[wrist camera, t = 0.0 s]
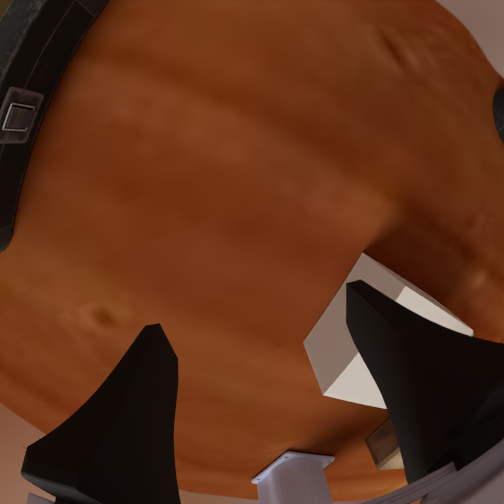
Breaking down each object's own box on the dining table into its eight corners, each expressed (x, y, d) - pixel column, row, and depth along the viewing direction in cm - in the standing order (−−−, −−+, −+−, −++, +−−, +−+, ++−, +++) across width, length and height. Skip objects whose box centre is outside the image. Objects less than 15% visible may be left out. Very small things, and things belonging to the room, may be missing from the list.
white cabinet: (380, 369, 26) (407, 412, 19) (302, 342, 24) (322, 394, 17) (432, 297, 24) (473, 330, 17) (362, 252, 21) (405, 285, 15)
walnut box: (413, 442, 32) (424, 462, 28) (364, 440, 30) (375, 465, 25) (456, 398, 30) (471, 417, 26) (415, 388, 27) (433, 413, 23)
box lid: (424, 462, 28) (429, 472, 26) (375, 465, 25) (381, 479, 23) (471, 417, 25) (479, 427, 23) (433, 413, 23) (442, 426, 21)
